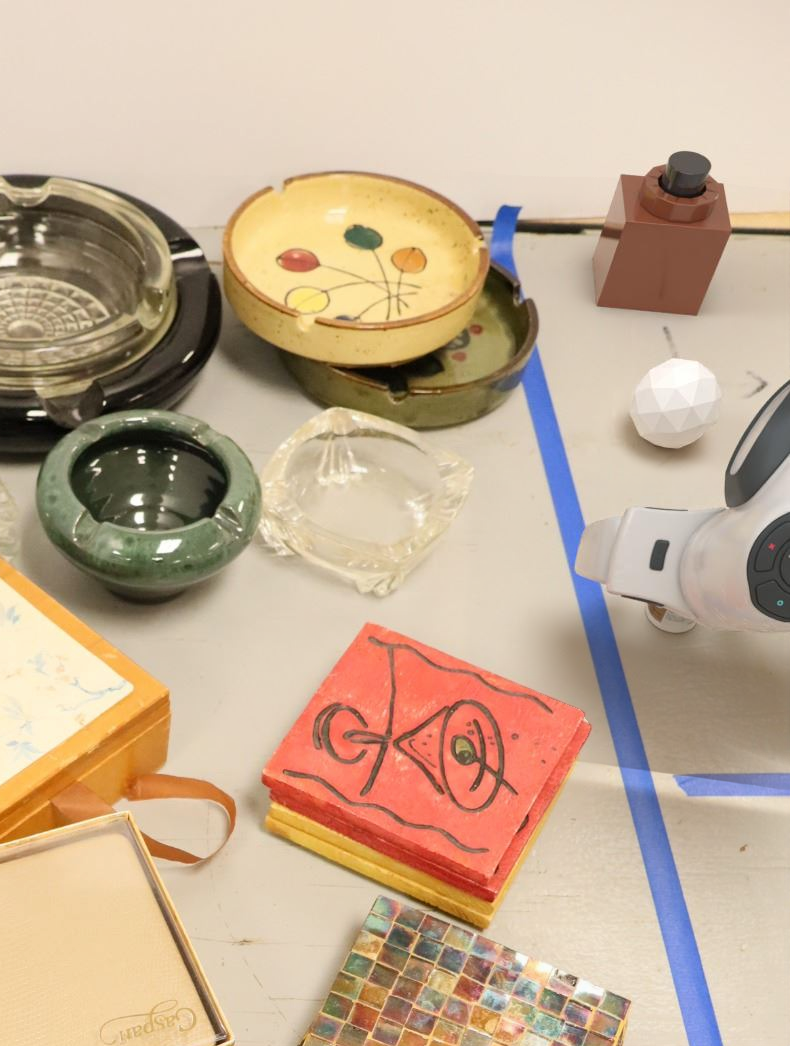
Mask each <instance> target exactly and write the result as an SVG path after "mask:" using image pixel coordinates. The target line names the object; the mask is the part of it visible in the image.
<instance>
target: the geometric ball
mask: <svg viewBox="0 0 790 1046" xmlns="http://www.w3.org/2000/svg"><path fill="white" fill-rule="evenodd" d="M723 397H724V395H723V392H722V389H721V388H720V385H719V382H718V380H717V378H716V376H715V374H714V373H713V371H712V370H711V369H709V368H708V367H706V366H705V365H704V364H702V363H701V362H699V361H697V360H692V359H684V358H677V357H676V358H675V357H672V358H670V359H668V360H666V361H664V362H662V363H660V364H659V365H657V366H655V367H653V368H650V369H649V370H648V372H646V374H645V375H644V376H643V377H642V378H641V379H640V380H639V381H638V382H637V383H636V385H635V387H634V391H633V395H632V399H631V402H630V406H629V410H628V413H629V415H630V418H631V420H632V422H633V424H634V426H635V429H636V431H637V433H638V435H639V436H640V437H641V438H643V439H644V440H646V441H647V442H649V443H651V444H653V445H654V446H658V447H661V448H668V449H669V448H670V449H680V448H683V447H685V446H688V445H689V444H693V443H694V442H696V441H697V440H699V439H700V438H701V437H702V436H703V435H704V434H705V433H707V432H708V430H710V428H712V426H714V425H715V424H716V423H717V420H718V419H717V418H718V415H719V412H720V407H721V403H722V400H723Z"/></svg>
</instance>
